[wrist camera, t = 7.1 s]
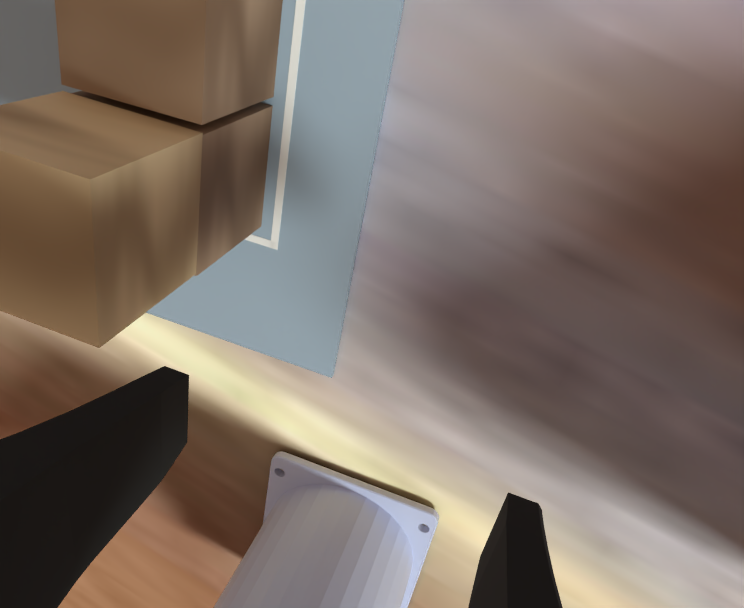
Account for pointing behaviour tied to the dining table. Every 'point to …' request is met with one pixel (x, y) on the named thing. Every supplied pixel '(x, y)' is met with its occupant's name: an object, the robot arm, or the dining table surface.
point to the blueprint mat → (272, 174)
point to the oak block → (93, 213)
